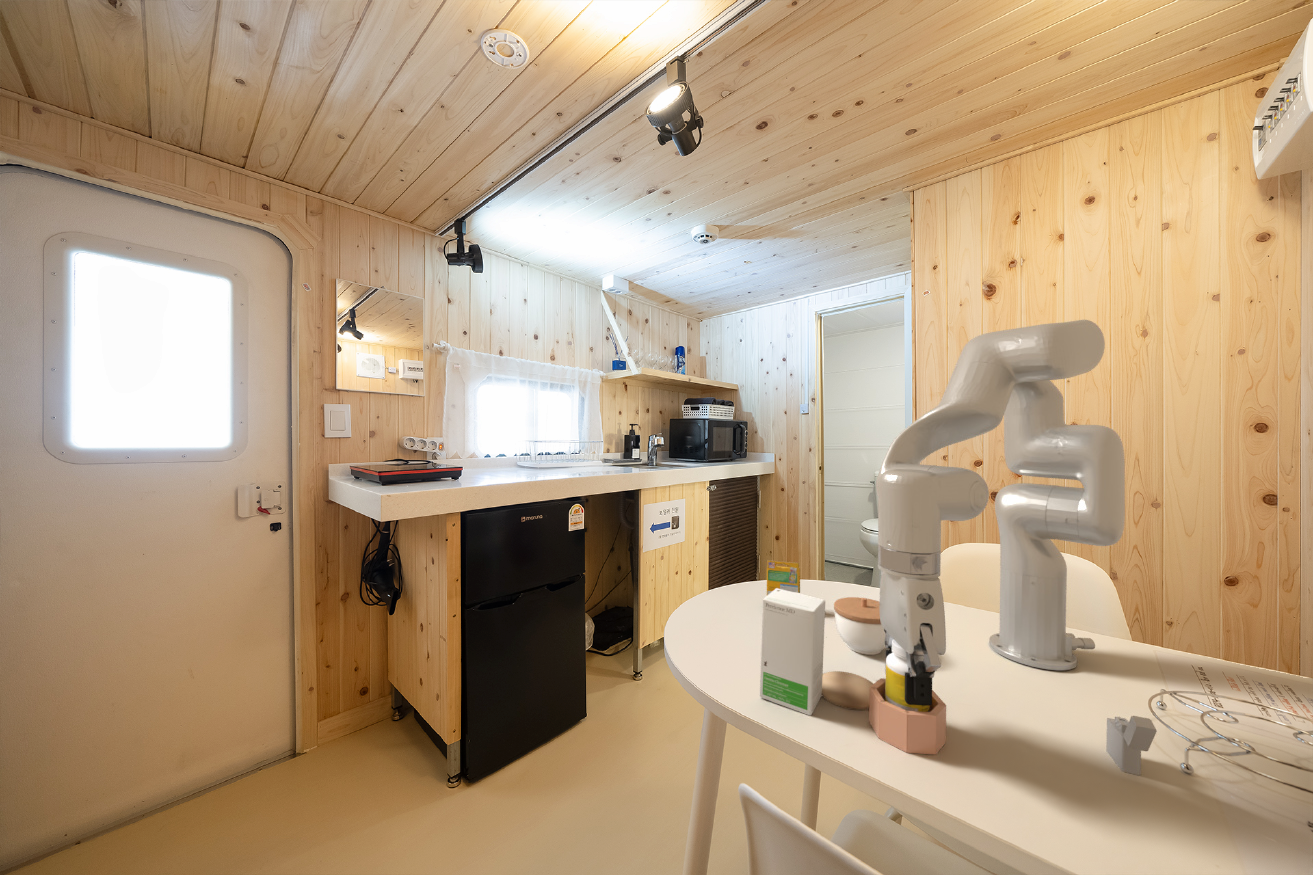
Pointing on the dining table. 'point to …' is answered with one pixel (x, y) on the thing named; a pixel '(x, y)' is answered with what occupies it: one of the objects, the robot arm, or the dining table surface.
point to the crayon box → (783, 576)
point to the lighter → (1129, 741)
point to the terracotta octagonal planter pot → (907, 723)
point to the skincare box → (792, 650)
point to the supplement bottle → (899, 678)
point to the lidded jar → (860, 624)
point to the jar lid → (846, 690)
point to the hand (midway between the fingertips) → (907, 688)
